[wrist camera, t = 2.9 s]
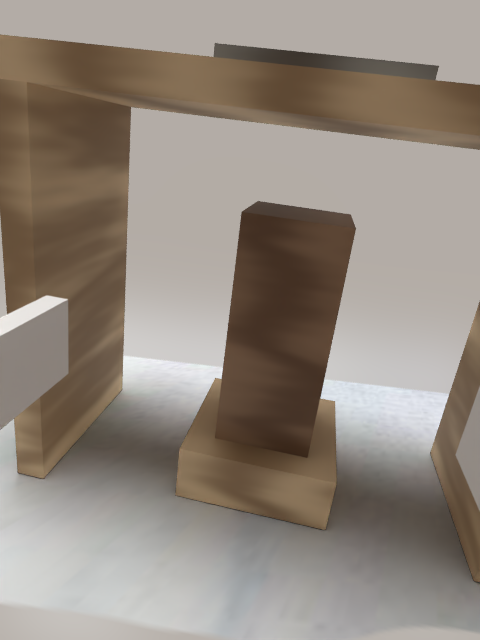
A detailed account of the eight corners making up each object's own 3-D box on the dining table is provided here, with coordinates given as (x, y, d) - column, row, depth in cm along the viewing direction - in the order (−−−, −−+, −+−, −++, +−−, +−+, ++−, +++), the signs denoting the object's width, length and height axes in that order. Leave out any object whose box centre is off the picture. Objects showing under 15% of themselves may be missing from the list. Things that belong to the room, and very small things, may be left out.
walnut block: (310, 408, 29) (350, 214, 24) (307, 457, 24) (355, 228, 20) (232, 393, 29) (258, 201, 25) (214, 438, 25) (241, 211, 20)
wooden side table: (453, 457, 31) (573, 115, 23) (507, 588, 21) (736, 89, 14) (102, 385, 34) (107, 64, 26) (17, 472, 25) (-14, 14, 17)
